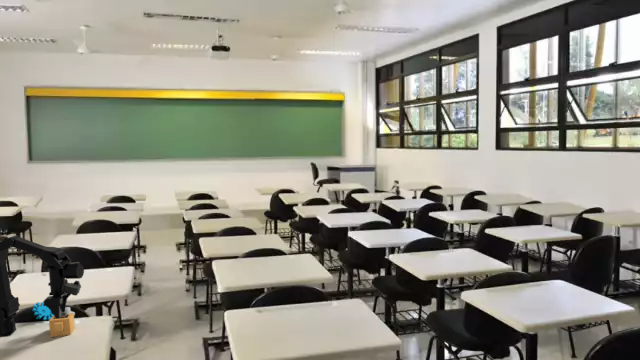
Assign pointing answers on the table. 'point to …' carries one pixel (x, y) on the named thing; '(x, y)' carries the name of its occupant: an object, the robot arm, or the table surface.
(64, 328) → the tan open box
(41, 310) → the gear
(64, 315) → the wedge
